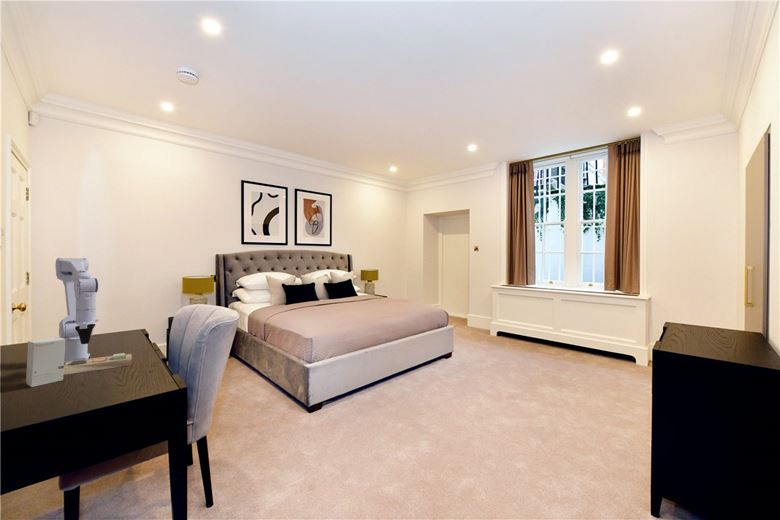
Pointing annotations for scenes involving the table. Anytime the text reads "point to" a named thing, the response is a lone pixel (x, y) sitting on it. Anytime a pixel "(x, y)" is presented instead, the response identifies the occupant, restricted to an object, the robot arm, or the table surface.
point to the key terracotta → (99, 360)
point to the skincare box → (45, 361)
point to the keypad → (96, 364)
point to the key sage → (119, 356)
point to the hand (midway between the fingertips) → (85, 343)
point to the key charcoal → (79, 361)
